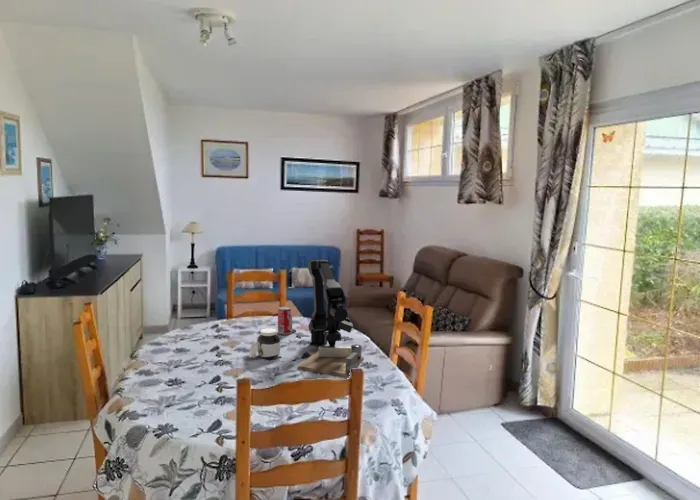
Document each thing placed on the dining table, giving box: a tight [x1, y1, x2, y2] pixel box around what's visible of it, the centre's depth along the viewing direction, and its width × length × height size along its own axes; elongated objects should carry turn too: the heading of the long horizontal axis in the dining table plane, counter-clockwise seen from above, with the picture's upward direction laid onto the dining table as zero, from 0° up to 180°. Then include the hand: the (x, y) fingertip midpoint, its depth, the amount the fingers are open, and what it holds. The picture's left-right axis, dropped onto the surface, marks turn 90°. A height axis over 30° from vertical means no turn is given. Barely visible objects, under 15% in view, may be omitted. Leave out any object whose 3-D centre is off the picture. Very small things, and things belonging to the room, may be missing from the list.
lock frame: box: [297, 350, 364, 378], centre depth 206 cm, size 22×21×7 cm
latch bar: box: [318, 343, 362, 359], centre depth 211 cm, size 18×4×5 cm, turn 90°
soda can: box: [277, 305, 293, 336], centre depth 247 cm, size 7×7×13 cm
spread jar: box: [249, 327, 281, 360], centre depth 213 cm, size 12×11×12 cm
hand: (332, 349), depth 214 cm, fingers closed
